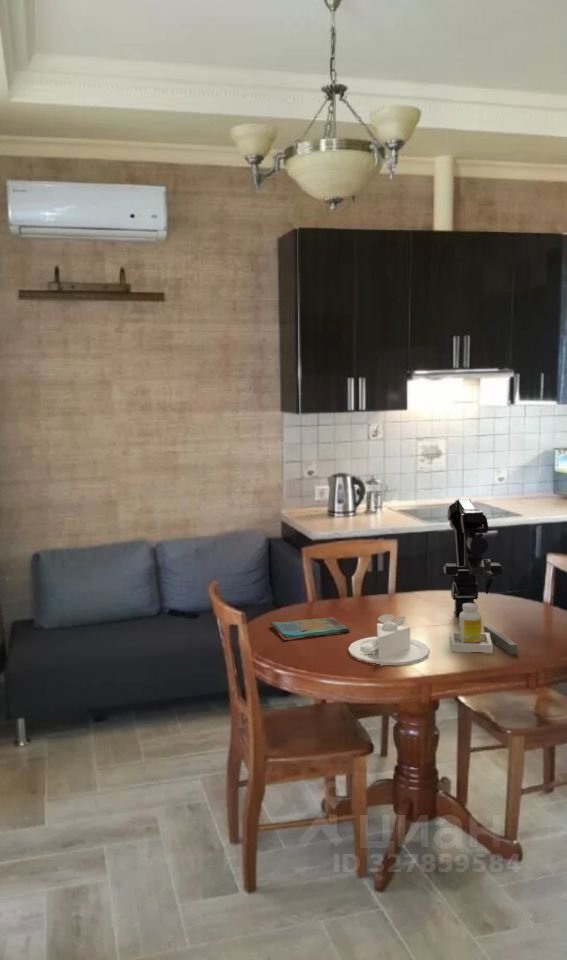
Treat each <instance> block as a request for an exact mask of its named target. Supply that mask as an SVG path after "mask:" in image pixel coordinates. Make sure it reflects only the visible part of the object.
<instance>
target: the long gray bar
mask: <svg viewBox="0 0 567 960" xmlns="http://www.w3.org/2000/svg"><path fill="white" fill-rule="evenodd" d="M483 633H489V634H490V638H491V641H492V642H493V641H494V642H493V643H495V644H496V645H497V644H498V645H497V646H499V647H500V648H502V649H503V650H504V651H505V650H506V651H505V652H507V654H510V655H517V654H518V644H517V643H516V642H514V641H513V640H511V639H510V638H508V637H507V636H506V635H504V634H503V633H501V632H500V631H499V630H497V629H496V628H495V627H493V626H492V625H490V624H488V625H487V624H486V625H483Z"/></svg>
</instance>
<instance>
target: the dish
mask: <svg viewBox="0 0 567 960" xmlns="http://www.w3.org/2000/svg"><path fill="white" fill-rule="evenodd" d="M393 619H394V615H392V614H389V613H385V614H382V615H380V616H379V617H378V618H377V620H378V621H379V622H380V623H379V622H378V623H376V636H369V637H365V638H361V639H358V640H355V641H354V642H352V643H350V645H349V647H348V653H349V652H350V653H349V655H350V654H351V655H352V656H353V657H355V658H357V659H359V660H363V661H366V662H370V663H376V664H380V665H379V666H383V665H396V667H397V665H399V666H406V665H407V666H409V665H412V664H415V663H419V662H423V661H424V660H426V659H427V658H428V657H429V655H430V648H429V646H428V645H427V644H426V643H424V642H422V641H421V640H417V639H413V638H411V626H404V625H403V624H404V623H405V621H406V620H405V619H406V617H405V616H399V617H397V618H396V619H395V622H394V621H392V620H393ZM351 655H350V656H351ZM352 656H351V657H352ZM353 657H352V658H353ZM355 658H354V659H355ZM357 659H356V660H357ZM359 660H358V661H359ZM405 664H406V665H405Z"/></svg>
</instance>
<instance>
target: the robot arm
mask: <svg viewBox="0 0 567 960" xmlns="http://www.w3.org/2000/svg"><path fill="white" fill-rule="evenodd" d="M454 501H455V502H453V503H452V504H450V505H449V506H448V510H447V520H448V521H449V526H450V528H451V529H452V530H453V532H454V537H455V538H454V541H455V549H456V554H455V555H456V563H454V562H453V563H445V564H444V565H443V573H444V574H445V575H446V576H449V578H452V580H453V583H452V586H451V589H450V595H451V598H452V600H454V610H453V614H454V615H455V617H456V618H459V615H460V613H461V612H463V608H462V605H463V604H464V603H474V604H476V602H475V600H478V598H479V591H480V586H479V584H478V582H477V579H476V576H477V575H480V576H483V575H486V577H485V578H486V579H485V594H486V595H488V594H489V592H490V589H491V586H492V583H493V581H494V580H495V578H497V577H499V576H500V575H503V574H504V568H503V566H502V565H501V564H500V563H499V562H491V559H489V558H488V559H484V558H483V555H484V554H485V553H486V552H487V551H488V548H489V543H488V541H487V539H485V538H484V535H483V534H488V531H489V524H488V523H489V522H488V518H487V517H486V514H485V513H484V511H483V510H481V509H476V508H475V506H474V505H473V504H472V501H471V498H468V497H465V498H462V497H461V498H456V499H455V500H454ZM485 573H486V574H485Z"/></svg>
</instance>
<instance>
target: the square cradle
mask: <svg viewBox="0 0 567 960" xmlns="http://www.w3.org/2000/svg"><path fill="white" fill-rule="evenodd" d="M449 645H450V646H449V647H450V652H451V653H470V652H482V653H481V654H493V652H494V651H493V650H494V649H493V647H494V645H493V641H492V640H491V638H490V634H489V633H484V632H481V644H474V643H460V642H459V631H449ZM483 652H484V653H483Z"/></svg>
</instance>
